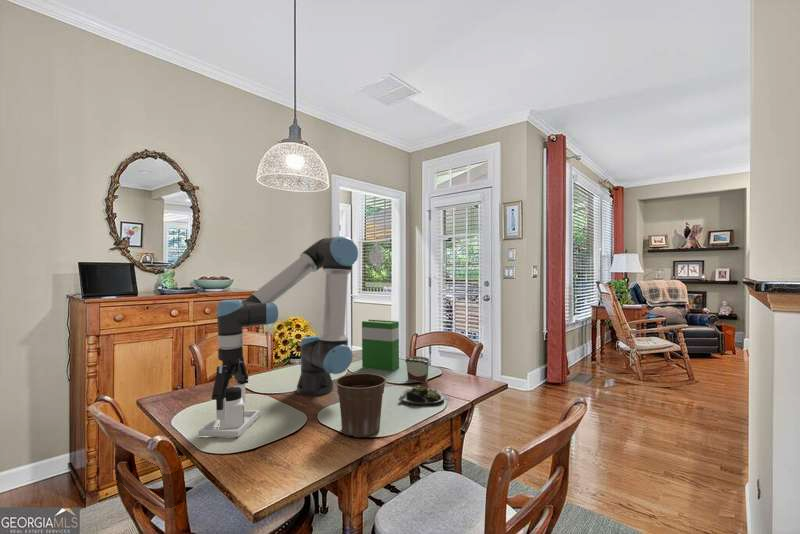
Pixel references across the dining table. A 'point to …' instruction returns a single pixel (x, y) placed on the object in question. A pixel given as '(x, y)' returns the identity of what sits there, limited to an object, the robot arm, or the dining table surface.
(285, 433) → the dining table surface
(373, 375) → the plant pot
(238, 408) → the medicine bottle
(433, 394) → the salad plate
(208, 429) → the tray
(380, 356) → the cereal box
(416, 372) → the food container
